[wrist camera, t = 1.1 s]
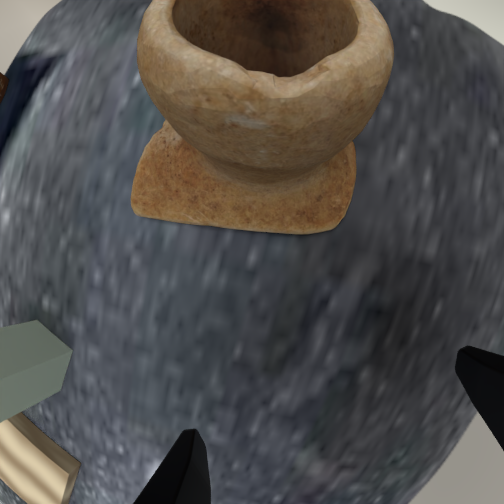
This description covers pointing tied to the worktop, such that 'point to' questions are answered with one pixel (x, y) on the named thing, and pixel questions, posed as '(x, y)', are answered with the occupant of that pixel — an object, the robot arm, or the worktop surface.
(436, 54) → the worktop surface
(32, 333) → the sage block
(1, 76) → the food container
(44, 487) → the birch base
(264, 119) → the stone cup
